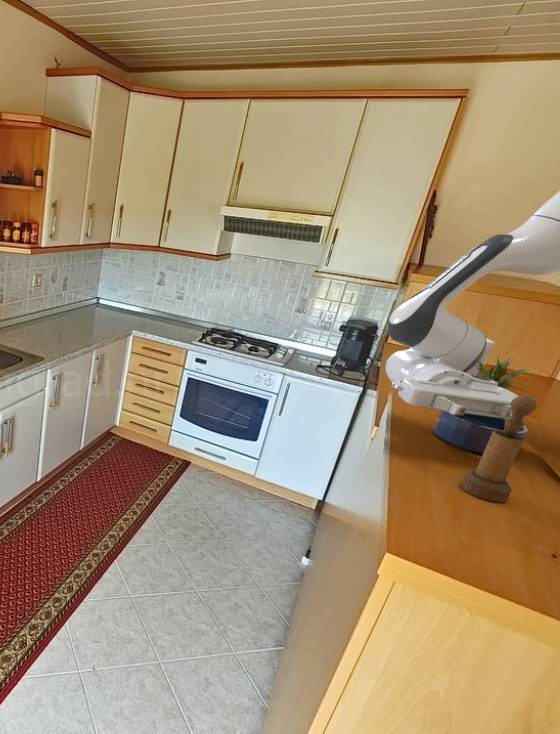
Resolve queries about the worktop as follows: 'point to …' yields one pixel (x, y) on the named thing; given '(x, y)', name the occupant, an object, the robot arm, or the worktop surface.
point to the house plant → (500, 373)
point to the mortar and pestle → (499, 456)
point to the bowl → (469, 430)
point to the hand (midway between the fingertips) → (489, 415)
